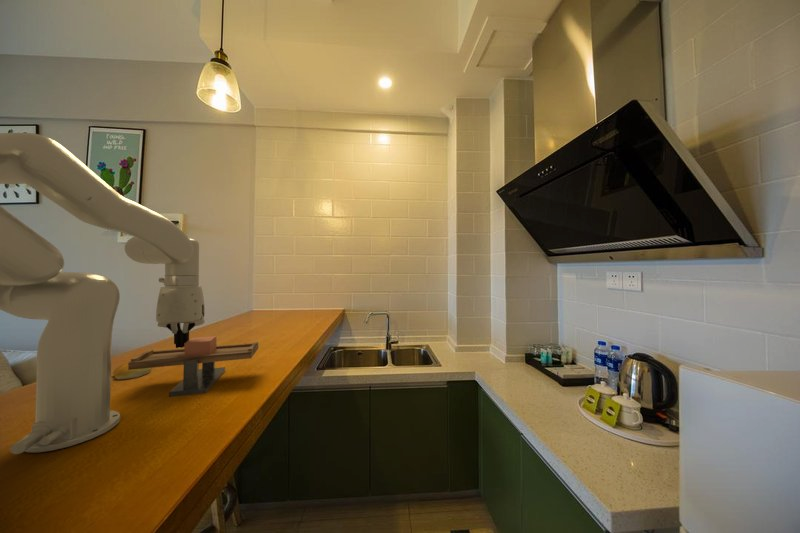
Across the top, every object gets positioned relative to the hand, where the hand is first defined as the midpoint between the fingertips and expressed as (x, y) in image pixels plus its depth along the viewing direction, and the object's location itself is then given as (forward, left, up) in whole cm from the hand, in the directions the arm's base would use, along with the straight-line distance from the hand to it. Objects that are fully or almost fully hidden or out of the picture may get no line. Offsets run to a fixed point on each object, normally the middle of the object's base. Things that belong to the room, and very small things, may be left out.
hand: (181, 346), depth 77 cm
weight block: (0, -5, -2) cm, 5 cm away
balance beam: (-1, -5, -4) cm, 6 cm away
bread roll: (+12, +17, -11) cm, 23 cm away
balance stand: (-1, -5, -11) cm, 12 cm away
